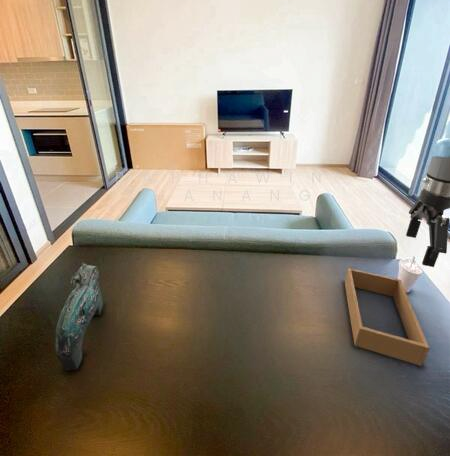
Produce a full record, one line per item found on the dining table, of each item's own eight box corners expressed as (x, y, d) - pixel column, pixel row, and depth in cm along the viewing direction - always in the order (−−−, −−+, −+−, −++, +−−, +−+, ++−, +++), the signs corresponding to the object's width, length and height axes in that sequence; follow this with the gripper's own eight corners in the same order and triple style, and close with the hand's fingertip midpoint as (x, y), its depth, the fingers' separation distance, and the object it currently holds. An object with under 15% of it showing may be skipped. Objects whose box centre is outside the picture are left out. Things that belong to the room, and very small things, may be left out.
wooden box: (395, 295, 82) (400, 279, 80) (421, 366, 63) (429, 348, 60) (344, 283, 87) (348, 267, 84) (354, 345, 67) (359, 328, 65)
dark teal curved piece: (91, 302, 79) (78, 253, 72) (111, 300, 80) (100, 252, 73) (57, 374, 61) (35, 319, 54) (84, 372, 61) (66, 316, 54)
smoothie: (390, 288, 85) (401, 256, 80) (394, 277, 89) (404, 246, 84) (413, 299, 81) (425, 266, 76) (415, 287, 85) (427, 255, 80)
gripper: (407, 173, 83) (393, 224, 91) (443, 212, 61) (420, 276, 69) (434, 175, 81) (417, 228, 89) (481, 217, 59) (453, 283, 66)
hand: (418, 249), depth 79 cm, fingers open, 13 cm apart
